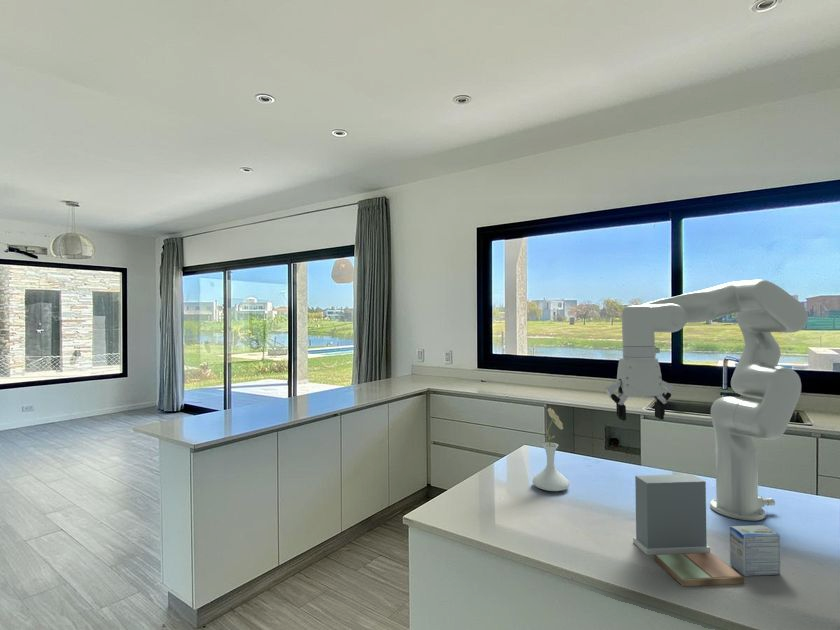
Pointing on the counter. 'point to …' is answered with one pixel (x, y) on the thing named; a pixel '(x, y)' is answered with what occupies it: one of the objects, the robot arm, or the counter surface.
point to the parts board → (698, 569)
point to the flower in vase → (551, 464)
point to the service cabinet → (670, 514)
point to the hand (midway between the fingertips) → (640, 418)
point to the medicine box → (754, 550)
